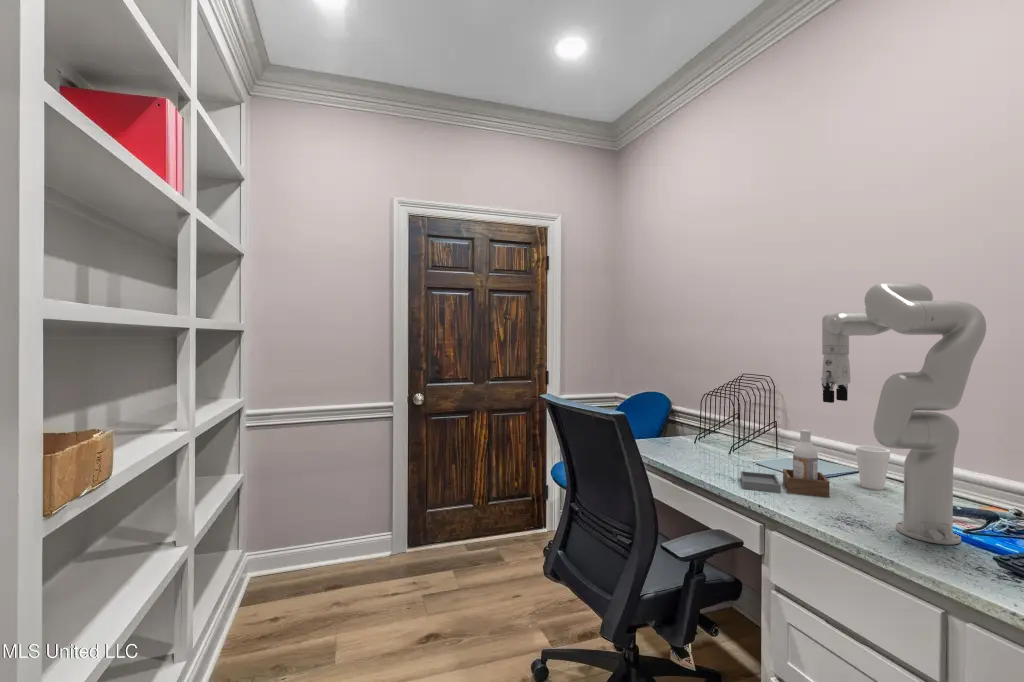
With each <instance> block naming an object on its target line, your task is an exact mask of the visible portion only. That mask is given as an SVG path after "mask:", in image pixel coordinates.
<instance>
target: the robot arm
mask: <svg viewBox="0 0 1024 682" xmlns="http://www.w3.org/2000/svg"><path fill="white" fill-rule="evenodd" d="M933 295H934V294H933V292H932V290H931V289H929V287H928V286H925V285H923V284H920V283H919V282H918V283H917V282H881V283H877V284H874V285H872V286H871V287H870V288H869V289H868V290H867V292H866V293H865V296H864V307H865V308H864V310H865V311H851V312H849V311H848V312H847V311H845V312H844V311H843V312H836V313H834V314H833V313H831V314H825V315H824V316H823V317H822V320H821V327H822V328H821V355H822V356H823V359H822V371H821V372H822V373H821V375H822V376H821V378H820V380H821V386H822V387H821V388H822V402H823V403H831V404H833V403H834V402H835V399H836V400H837V401H842V402H847V401H848V397H849V396H848V389H849V386H848V385H849V384H850V383H851V367H850V359H849V356H850V336H875V335H879V334H882V333H885V332H888V331H890V330H892V331H894V332H896V333H898V334H901V335H907V336H917V335H918V336H920V335H921V336H923V335H924V336H929V335H931V336H933V335H934V336H935V335H936V336H938V335H939V336H940V335H941V336H942V338H941V339H939V340H938V341H936V343H934V344H933V345H932V347H931V348H930V349H929V350H928V351H927V353H926V355H925V357H924V363H923V365H922V368H921V370H919V371H916V372H915V371H909V372H907V371H906V372H896V373H894V374H892V375H890V376H889V377H888V378H887V379H886V381H884V383H883V385H882V388H881V390H880V395H879V400H878V403H877V409H876V411H875V414H874V415H875V417H874V419H873V434H874V437H875V439H876V441H877V442H878V443H879V444H880V446H883V447H884V448H885V447H886V448H888V449H896V450H897V449H899V450H909V451H908V453H907V455H906V457H905V459H904V464H903V521H898V522H896V524H895V529H896V531H897V532H899V533H900V534H902V535H904V536H907V537H909V538H912V539H915V540H918V541H922V542H927V543H931V544H937V545H949V546H951V545H958V544H960V543H961V542H962V537H961V535H960V534H959V535H960V536H959V535H957V534H958V533H957V534H954V533H953V531H954V530H953V529H954V528H953V527H954V526H953V525H954V524H953V522H954V520H953V519H954V518H953V516H954V513H953V512H954V509H953V508H954V507H953V506H954V461H955V455H956V449H957V446H958V442H959V438H960V430H959V426H958V423H957V422H956V421H955V419H954V418H952V417H950V415H947V414H945V413H941V412H939V411H950V410H954V409H956V408H957V407H958V406H959V405H960V402H961V401H962V398H963V396H964V392H965V390H966V389H965V388H966V385H967V383H968V380H969V376H970V373H971V369H972V365H973V363H974V360H975V358H976V355H977V354H978V351H979V350H980V348H981V346H982V344H983V341H984V340H985V337H986V333H987V321H986V318H985V315H984V314H983V312H982V311H981V310H980V308H978V307H977V306H976V305H973V304H971V303H969V302H965V301H959V300H934V296H933ZM835 385H836V386H837V388H835ZM834 388H835V389H836V390H834ZM835 391H836V395H835ZM937 411H938V412H937Z"/></svg>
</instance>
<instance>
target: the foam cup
mask: <svg viewBox="0 0 1024 682" xmlns="http://www.w3.org/2000/svg"><path fill="white" fill-rule="evenodd" d="M855 455H856V461H857V467H858V474H859V475H858V477H859V483H860V486H861V487H862V488H864V489H865V488H866V489H870V490H876V491H877V490H878V491H879V490H880V491H881V490H884V489H885V484H886V479H887V472H888V467H889V461H890V458H891V450H890V449H889V448H888V449H887V448H885V447H881V446H873V445H857V446H855Z"/></svg>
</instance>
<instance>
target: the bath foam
mask: <svg viewBox="0 0 1024 682" xmlns="http://www.w3.org/2000/svg"><path fill="white" fill-rule="evenodd" d="M799 434H800V437H799V441H798V443H797V444H796V445H795V447H794V448H793V454H792V470H793V478H800V479H811V480H818V472H819V471H818V469H819V468H818V467H819V466H818V465H819V458H818V457H819V456H818V451H817V449H816V447H815V446H814V445H813V443H812V442H811V437H812V433H811V430H810V429H800V431H799Z"/></svg>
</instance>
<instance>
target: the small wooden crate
mask: <svg viewBox="0 0 1024 682" xmlns="http://www.w3.org/2000/svg"><path fill="white" fill-rule="evenodd" d="M830 483H831V482H830V481H829V480H828V479H827V477H826V476H825V475H824V474H823V472H820V471H818V480H811V479H800V478H793V469H788V468H782V484H783V487H784V488H785V490H786V491H787V494H792V495H793V494H794V495H802V496H811V497H820V498H830V495H831V494H830V491H831V490H830V487H831V486H830Z"/></svg>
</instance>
